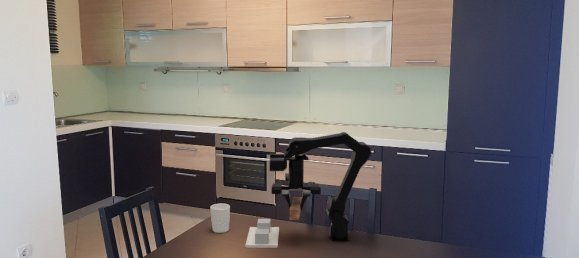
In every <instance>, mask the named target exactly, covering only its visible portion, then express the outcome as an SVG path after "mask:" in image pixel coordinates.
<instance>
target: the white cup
mask: <svg viewBox="0 0 579 258" xmlns="http://www.w3.org/2000/svg"><path fill="white" fill-rule="evenodd" d="M209 207H210V208H209V209H210V219H211V227H212V228H211V229H212V232H214V233H217V234H218V233H219V234H221V233H226V232H229V231H230V222H231V221H230V218H231V217H230V216H231V214H230V213H231V206H230V204H227V203H214V204H212V205H210V206H209Z"/></svg>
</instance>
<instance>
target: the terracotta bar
mask: <svg viewBox="0 0 579 258" xmlns="http://www.w3.org/2000/svg"><path fill="white" fill-rule="evenodd" d="M301 199H302V196H293V197H292V200H291V207H290V208H289V220H290V221H299V220H300V218H301V213H302V211H301Z"/></svg>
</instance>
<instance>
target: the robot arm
mask: <svg viewBox="0 0 579 258" xmlns="http://www.w3.org/2000/svg"><path fill="white" fill-rule="evenodd" d="M338 145H345V146H346V147H348V148H349V149H351V155H350V156H351V157H350V163H349V165H348V167H347V170H346V172H345V174H344V177H343V179H342V182H341V183H340V186H339V188H338V191H337V192H336V194H335V196H334V197H332V196H329V198H328V202H327V204H326V205H325V208H326V213H327V216H328V218H329V220H330V221H331V224H330V225H329V237H330V238H331V241H332V242H333V241H343V242H344V241H349V223H350V221H349V219H348V216H347V215H346V213H345V211H346V203H347V199H348V197H349V195H350V193H351V190H352V188H353V186H354V184H355V182H356V179H357V176H358V174H359V172H360V170H361V169H362V167H363V166H364V165H365V164H367V162H368V160H369V159H370V157H371V156H372V150H371V149H372V148H371V147H370V146H369V145H368V144H367V143H365V142H364V141H358V140H357V139H356V138H354V137H352V136H350V135H349V134H348V133H347V132H345V131H342V132H339V133H334V134H327V135H322V136H316V137H304V136H303V137H296V136H295V137H293V138H291V139H290V140H289V142H288V146H287V147H286V149H285V150H284V151H283V153H273V152H272V153H269V172H285V171H286V170H287V169H288V173H287V172H285V174H284V179H285V180H284V181H285V182H288V185H283V183H280V182H279V183H277V182H276V183H272V184H271V190H270V191H271V193H270V194H271V195H281V197H284V198H285V201H286V203H287V205H288V208H289V209H290V207H291V203H292V200H291V193H290V192H301V197H302V199H301V212H302V210H303V208H304V206H305V202H306V200H308V197H311V195H321V194H322V193H321V192H322V191H321V190H322V188H321V185H320V183H309V185H307V186H306V185H304V174H305V173H304V169H305V167H304V164H305V161H309V160H310V159H309V156H307V154H306V153H308V152H310V151H312V150H315V149H320V148H321V149H322V148H327V147H332V146H338Z"/></svg>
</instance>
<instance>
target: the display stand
mask: <svg viewBox="0 0 579 258" xmlns="http://www.w3.org/2000/svg"><path fill="white" fill-rule="evenodd" d="M279 233H280V227H279V226H274V227H273V226H272V225H271V218H257V223H256V226H250V227H249V230H248V233H247V238H246V242H245V248H247V249H248V248H249V249H251V248H253V249H257V248H258V249H259V248H260V249H261V248H263V249H264V248H266V249H267V248H270V249H271V248H273V249H277V248H279V235H280V234H279Z"/></svg>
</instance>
